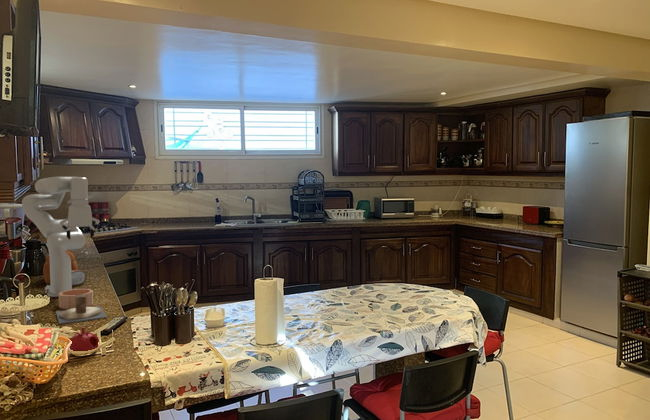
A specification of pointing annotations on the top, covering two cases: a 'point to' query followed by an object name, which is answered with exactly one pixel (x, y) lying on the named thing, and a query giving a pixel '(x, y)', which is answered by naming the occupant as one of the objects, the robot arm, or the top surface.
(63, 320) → the mat
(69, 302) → the bowl
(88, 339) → the pomegranate
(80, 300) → the lid
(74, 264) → the bread
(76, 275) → the tin
